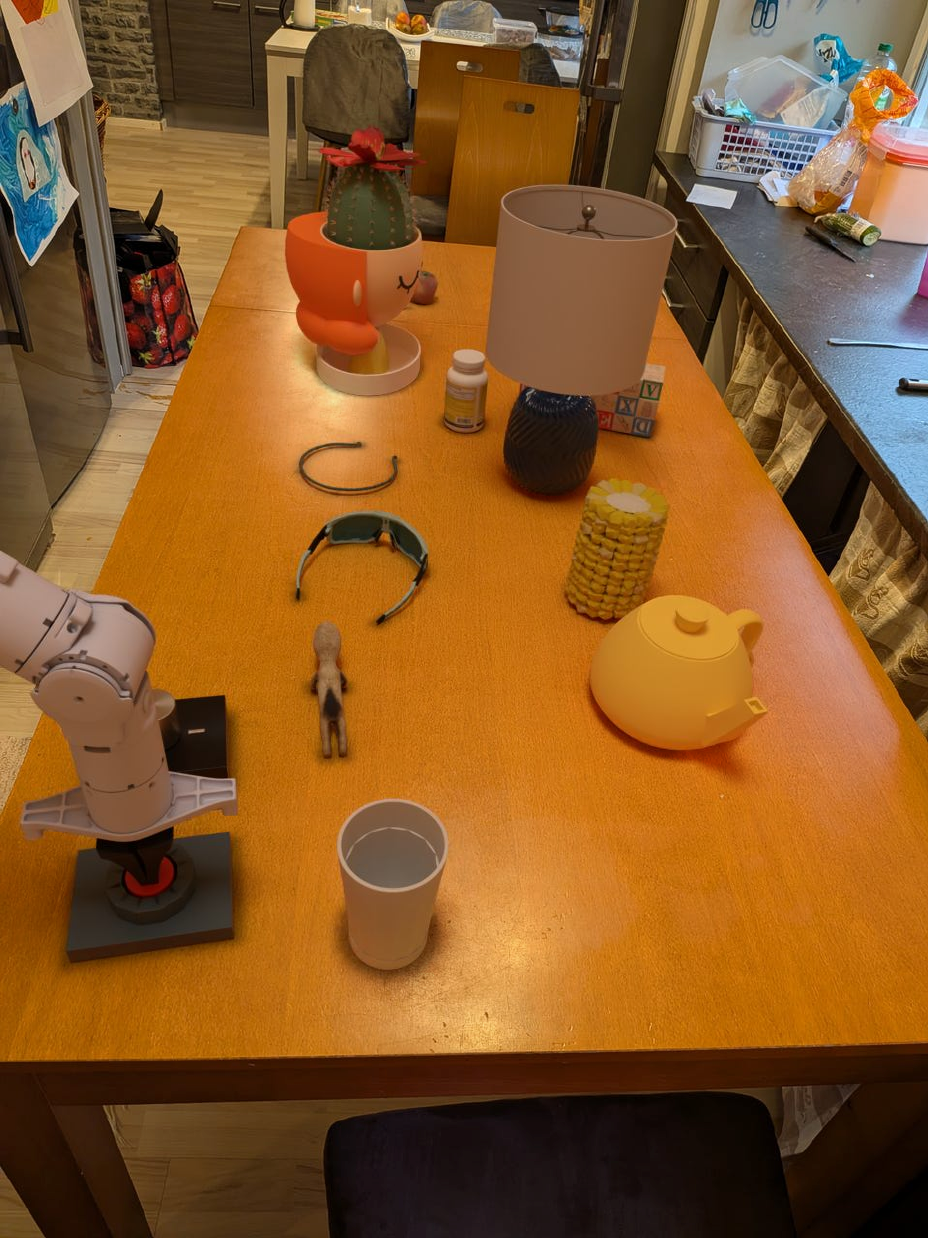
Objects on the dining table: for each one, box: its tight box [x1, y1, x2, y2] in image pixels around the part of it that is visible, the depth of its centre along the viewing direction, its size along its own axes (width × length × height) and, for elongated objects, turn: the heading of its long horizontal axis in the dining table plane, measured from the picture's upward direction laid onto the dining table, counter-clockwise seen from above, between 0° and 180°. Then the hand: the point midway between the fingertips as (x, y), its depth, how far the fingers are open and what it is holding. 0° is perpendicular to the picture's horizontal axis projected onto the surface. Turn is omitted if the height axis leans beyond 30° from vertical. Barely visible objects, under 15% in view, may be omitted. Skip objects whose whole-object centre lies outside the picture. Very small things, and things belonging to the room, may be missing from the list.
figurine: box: [309, 621, 348, 758], centre depth 89 cm, size 4×4×15 cm
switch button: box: [125, 857, 176, 899], centre depth 70 cm, size 4×4×2 cm
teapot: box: [588, 594, 769, 751], centre depth 90 cm, size 20×19×13 cm
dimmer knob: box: [152, 688, 181, 750], centre depth 80 cm, size 4×4×4 cm
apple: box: [410, 270, 439, 305], centre depth 171 cm, size 6×8×6 cm
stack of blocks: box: [518, 363, 666, 438], centre depth 138 cm, size 21×6×12 cm, turn 76°
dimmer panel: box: [164, 694, 230, 779], centre depth 82 cm, size 12×9×3 cm
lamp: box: [485, 184, 678, 497], centre depth 114 cm, size 20×20×37 cm
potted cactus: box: [284, 125, 427, 397], centre depth 138 cm, size 22×22×35 cm
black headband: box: [298, 441, 398, 492], centre depth 124 cm, size 14×13×1 cm
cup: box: [336, 798, 450, 971], centre depth 68 cm, size 8×8×12 cm
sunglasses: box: [295, 509, 429, 625], centre depth 105 cm, size 14×15×5 cm
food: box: [564, 477, 670, 621], centre depth 103 cm, size 15×12×10 cm
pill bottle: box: [443, 348, 489, 434], centre depth 133 cm, size 6×6×11 cm
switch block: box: [65, 831, 235, 963], centre depth 71 cm, size 12×9×4 cm
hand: (149, 874), depth 70 cm, fingers closed, pressing on switch button
